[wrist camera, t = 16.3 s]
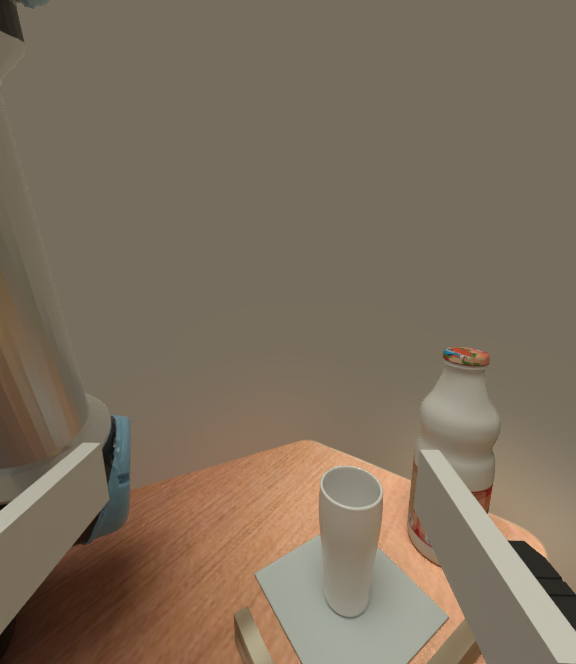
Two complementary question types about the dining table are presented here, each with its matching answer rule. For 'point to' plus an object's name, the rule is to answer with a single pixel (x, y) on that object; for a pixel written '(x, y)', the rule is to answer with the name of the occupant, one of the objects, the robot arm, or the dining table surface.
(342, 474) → the drinking glass
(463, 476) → the fruit juice
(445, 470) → the robot arm
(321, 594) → the pad
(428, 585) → the dining table surface
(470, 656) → the birch walls
